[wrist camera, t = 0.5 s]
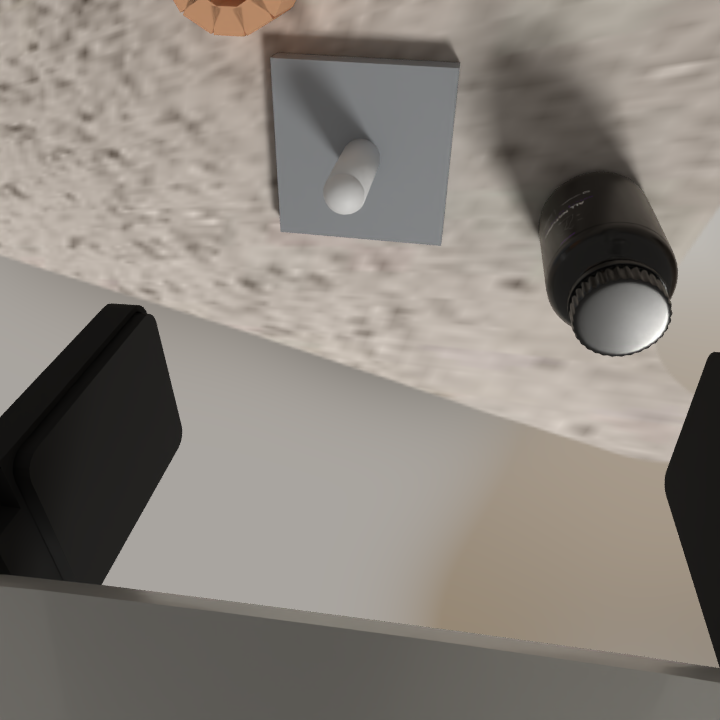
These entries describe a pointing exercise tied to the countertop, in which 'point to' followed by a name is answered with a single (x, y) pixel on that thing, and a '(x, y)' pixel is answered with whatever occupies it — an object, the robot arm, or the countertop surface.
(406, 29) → the countertop surface
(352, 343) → the countertop surface
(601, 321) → the supplement bottle
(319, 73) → the post block
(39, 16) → the countertop surface
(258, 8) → the ring
